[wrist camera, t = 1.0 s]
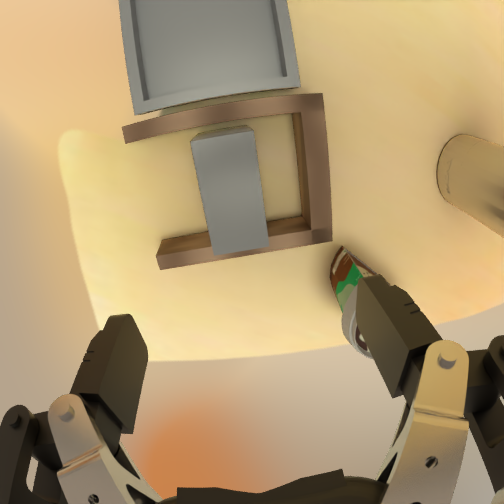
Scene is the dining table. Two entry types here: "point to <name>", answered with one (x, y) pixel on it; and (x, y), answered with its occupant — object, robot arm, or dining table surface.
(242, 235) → the grey rectangular prism
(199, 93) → the charcoal tray
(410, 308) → the robot arm
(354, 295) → the food container
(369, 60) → the dining table surface
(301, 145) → the walnut bay
